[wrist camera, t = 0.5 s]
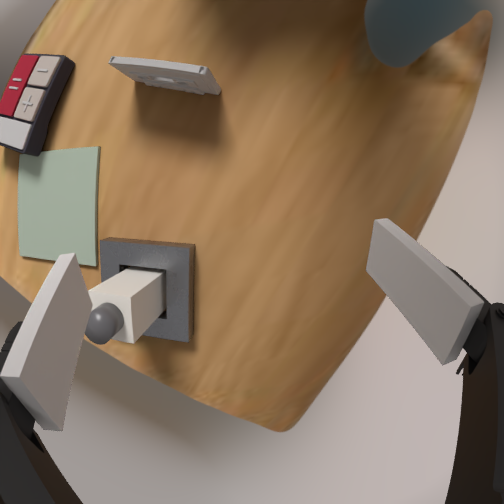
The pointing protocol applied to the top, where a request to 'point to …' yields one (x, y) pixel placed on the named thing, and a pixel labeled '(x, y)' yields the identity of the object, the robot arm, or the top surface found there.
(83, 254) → the mat
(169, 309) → the socket
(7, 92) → the calculator
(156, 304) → the plug
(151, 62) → the cassette
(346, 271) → the top surface
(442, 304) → the robot arm
